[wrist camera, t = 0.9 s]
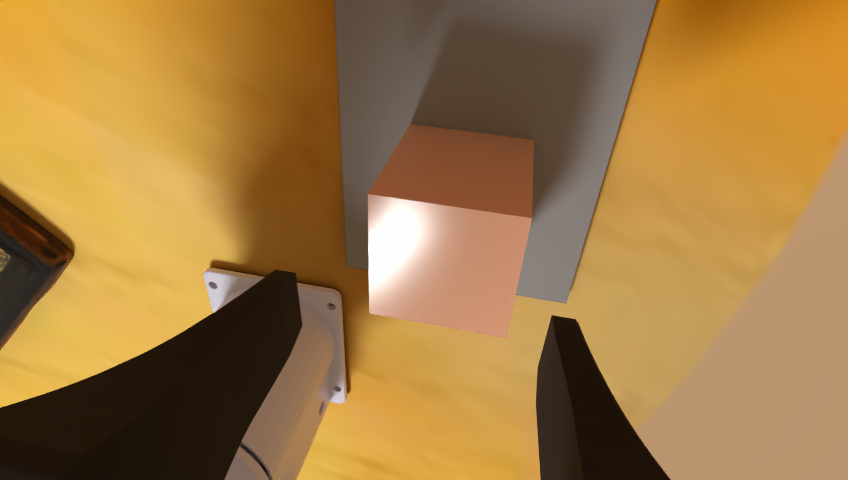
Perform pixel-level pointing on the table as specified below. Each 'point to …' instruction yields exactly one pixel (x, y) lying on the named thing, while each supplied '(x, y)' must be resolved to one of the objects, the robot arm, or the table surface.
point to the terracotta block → (450, 228)
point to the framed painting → (25, 266)
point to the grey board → (492, 102)
